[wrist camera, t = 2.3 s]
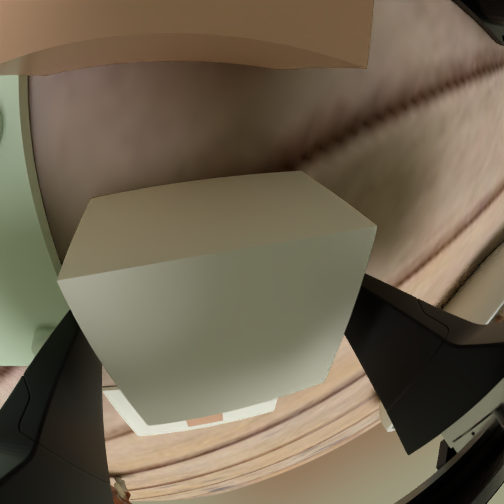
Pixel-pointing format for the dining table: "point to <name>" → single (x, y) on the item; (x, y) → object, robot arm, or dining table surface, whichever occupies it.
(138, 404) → the cream brick
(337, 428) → the dining table surface
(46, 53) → the terracotta brick
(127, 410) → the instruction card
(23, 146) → the plate
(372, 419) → the dining table surface
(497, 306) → the bowl
